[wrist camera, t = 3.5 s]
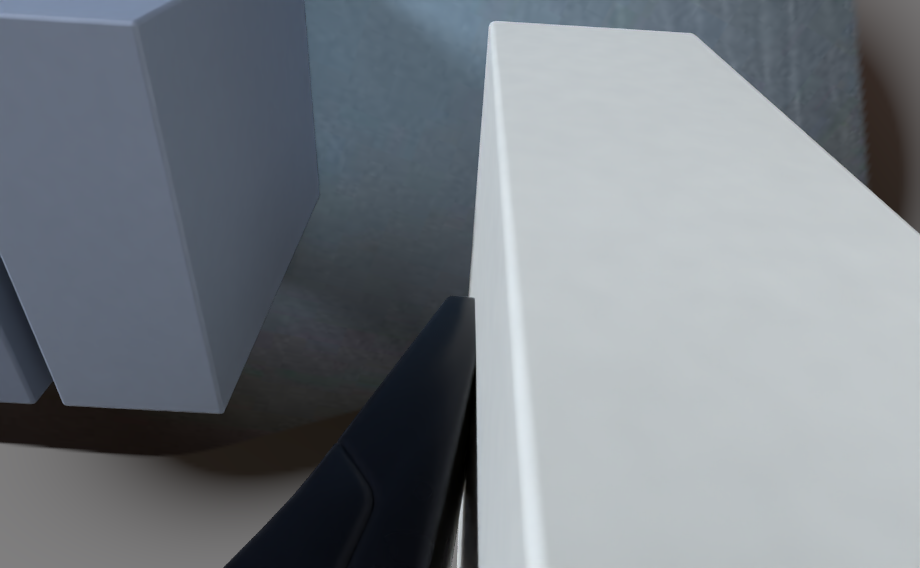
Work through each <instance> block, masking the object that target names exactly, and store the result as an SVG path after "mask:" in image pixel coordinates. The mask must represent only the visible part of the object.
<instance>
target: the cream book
mask: <svg viewBox="0 0 920 568" xmlns="http://www.w3.org/2000/svg"><path fill="white" fill-rule="evenodd" d="M468 297H473V298H475V324H476V372H475V383H474V394H473V405H472V416H471V427H470V438H469V448H468V459H467V470H466V479H465V485H464V491H463V497H462V504H461V510H460V516H459V522H458V552H457V568H920V234H919V233H918V232H917V231H916V230H915V229H914V228H912V227H911V226H910V225H909V224H908V223H907V222H906V221H905V220H903V219H902V218H901V217H900V216H899V215H898V214H897V213H895V212H894V211H893V210H892V209H891V208H890V207H889V206H888V205H886V204H885V203H884V202H883V201H882V200H881V199H880V198H878V197H877V196H876V195H875V194H874V193H873V192H872V191H871V190H870V189H868V188H867V187H866V186H865V185H864V184H863V183H862V182H861V181H859V180H858V179H857V178H856V177H855V176H854V175H853V174H851V173H850V172H849V171H848V170H847V169H846V168H845V167H844V166H842V165H841V164H840V163H839V162H838V161H837V160H836V159H835V158H833V157H832V156H831V155H830V154H829V153H828V152H827V151H826V150H824V149H823V148H822V147H821V146H820V145H819V144H818V143H817V142H815V141H814V140H813V139H812V138H811V137H810V136H809V135H807V134H806V133H805V132H804V131H803V130H802V129H801V128H800V127H798V126H797V125H796V124H795V123H794V122H793V121H792V120H791V119H789V118H788V117H787V116H786V115H785V114H784V113H783V112H782V111H780V110H779V109H778V108H777V107H776V106H775V105H774V104H773V103H771V102H770V101H769V100H768V99H767V98H766V97H765V96H763V95H762V94H761V93H760V92H759V91H758V90H757V89H756V88H754V87H753V86H752V85H751V84H750V83H749V82H748V81H747V80H745V79H744V78H743V77H742V76H741V75H740V74H739V73H738V72H736V71H735V70H734V69H733V68H732V67H731V66H730V65H729V64H727V63H726V62H725V61H724V60H723V59H722V58H721V57H719V56H718V55H717V54H716V53H715V52H714V51H713V50H712V49H710V48H709V47H708V46H707V45H706V44H705V43H704V42H703V41H701V40H700V39H699V38H698V37H697V36H696V35H694V34H692V33H680V32H664V31H648V30H632V29H616V28H600V27H584V26H568V25H552V24H536V23H520V22H504V21H494V22H491V23H490V26H489V32H488V45H487V59H486V72H485V85H484V98H483V111H482V124H481V137H480V150H479V163H478V177H477V190H476V203H475V216H474V229H473V242H472V255H471V268H470V282H469V295H468Z"/></svg>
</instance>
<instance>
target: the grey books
mask: <svg viewBox="0 0 920 568" xmlns="http://www.w3.org/2000/svg"><path fill="white" fill-rule="evenodd" d="M319 195H320V192H319V179H318V167H317V154H316V142H315V129H314V117H313V104H312V92H311V79H310V67H309V54H308V41H307V29H306V16H305V4H304V0H0V402H1V403H20V404H34V403H36V402H37V401H38V399H39V398H40V397H41V396H42V394H43V393H44V392H45V390H46V389H47V388H48V387H49V385H50V384H51V383H52V381H54V383H55V386H56V388H57V390H58V393H59V395H60V397H61V400H62V402H63V404H64V405H66V406H78V407H97V408H116V409H135V410H154V411H173V412H191V413H210V414H222V413H224V411H225V409H226V406H227V404H228V402H229V400H230V397H231V395H232V393H233V390H234V388H235V386H236V384H237V381H238V379H239V377H240V375H241V372H242V370H243V368H244V366H245V363H246V361H247V359H248V356H249V354H250V352H251V350H252V347H253V345H254V343H255V341H256V338H257V336H258V334H259V332H260V329H261V327H262V325H263V322H264V320H265V318H266V316H267V313H268V311H269V309H270V307H271V304H272V302H273V300H274V297H275V295H276V293H277V291H278V288H279V286H280V284H281V282H282V279H283V277H284V275H285V273H286V270H287V268H288V266H289V263H290V261H291V259H292V257H293V254H294V252H295V250H296V248H297V245H298V243H299V241H300V239H301V236H302V234H303V232H304V229H305V227H306V225H307V223H308V220H309V218H310V216H311V214H312V211H313V209H314V207H315V205H316V202H317V200H318V198H319Z"/></svg>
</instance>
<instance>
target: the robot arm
mask: <svg viewBox="0 0 920 568" xmlns="http://www.w3.org/2000/svg"><path fill="white" fill-rule="evenodd" d="M475 372H476V324H475V298H473V297H459V296H450V297H448V298H447V299H446V300H445V301H444V303H443V304H442V305H441V306H440V308H439V309H438V310H437V312H436V313H435V314H434V316H433V317H432V318H431V320H430V321H429V322H428V323H427V325H426V326H425V327H424V329H423V330H422V331H421V333H420V334H419V335H418V336H417V338H416V339H415V340H414V342H413V343H412V344H411V346H410V347H409V348H408V349H407V351H406V352H405V353H404V355H403V356H402V357H401V359H400V360H399V361H398V362H397V364H396V365H395V366H394V368H393V369H392V370H391V372H390V373H389V374H388V375H387V377H386V378H385V379H384V381H383V382H382V383H381V385H380V386H379V387H378V388H377V390H376V391H375V392H374V394H373V395H372V396H371V398H370V399H369V400H368V401H367V403H366V404H365V405H364V407H363V408H362V409H361V411H360V412H359V413H358V414H357V416H356V417H355V419H354V420H353V421H352V422H351V424H350V425H349V426H348V428H347V429H346V430H345V431H344V433H343V434H342V435H341V437H340V438H339V439H338V443H336V444H334V445H333V447H332V448H331V449H330V450H329V452H328V453H327V454H326V456H325V457H324V458H323V460H322V461H321V462H320V464H319V465H318V466H317V467H316V468H315V470H314V471H313V472H312V473H311V475H310V476H309V477H308V478H307V479H306V481H305V482H304V483H303V484H302V485H301V487H300V488H299V489H298V490H297V491H296V493H295V494H294V495H293V496H292V497H291V498H290V499H289V501H288V502H287V503H286V504H285V505H284V506H283V507H282V508H281V509H280V510H279V511H278V512H277V513H276V514H275V515H274V517H272V519H271V520H270V521H269V522H268V523H267V524H266V525H265V526H264V527H263V528H262V529H261V530H260V531H259V532H258V533H257V534H256V535H255V536H254V537H253V538H252V539H251V540H250V541H249V542H248V543H247V544H246V545H245V546H244V547H243V548H242V549H241V550H240V551H239V552H238V553H237V554H236V555H235V556H234V557H233V558H232V559H231V561H230V562H229V563H228V564H226V566H224V568H451V565H452V559H453V553H454V546H455V540H456V534H457V528H458V522H459V516H460V510H461V504H462V497H463V491H464V485H465V479H466V470H467V459H468V448H469V438H470V427H471V416H472V405H473V394H474V383H475Z"/></svg>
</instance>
